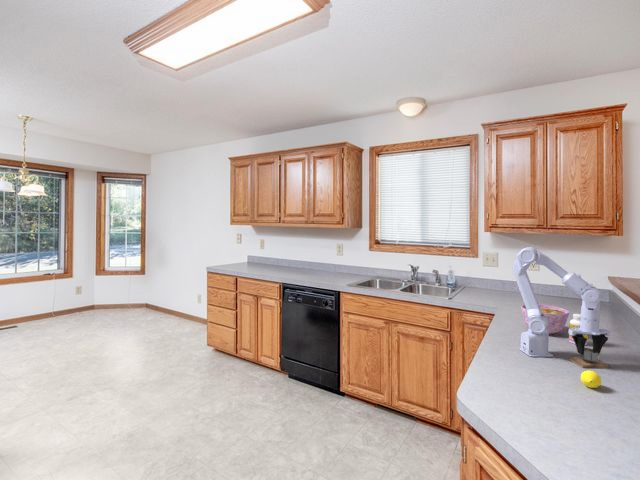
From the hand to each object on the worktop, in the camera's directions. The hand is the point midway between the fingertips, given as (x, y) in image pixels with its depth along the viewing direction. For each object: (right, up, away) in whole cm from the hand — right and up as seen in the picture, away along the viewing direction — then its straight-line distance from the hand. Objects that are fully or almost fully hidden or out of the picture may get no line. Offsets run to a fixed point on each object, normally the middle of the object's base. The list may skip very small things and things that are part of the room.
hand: (588, 353), depth 130 cm
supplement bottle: (+13, -3, +22) cm, 26 cm away
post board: (0, -4, 0) cm, 4 cm away
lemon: (-14, -5, -18) cm, 24 cm away
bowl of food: (+8, -2, +38) cm, 39 cm away
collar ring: (0, -2, 0) cm, 2 cm away
